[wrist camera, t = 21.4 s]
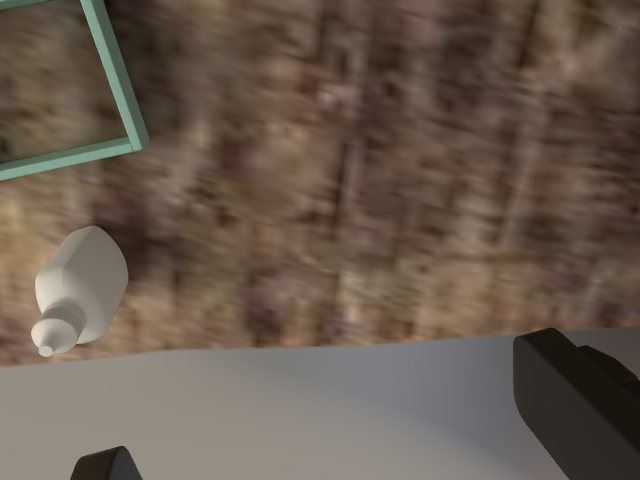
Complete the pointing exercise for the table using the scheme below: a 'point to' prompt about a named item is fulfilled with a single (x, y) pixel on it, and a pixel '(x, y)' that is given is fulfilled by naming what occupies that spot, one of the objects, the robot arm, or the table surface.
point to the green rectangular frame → (122, 94)
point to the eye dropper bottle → (79, 291)
